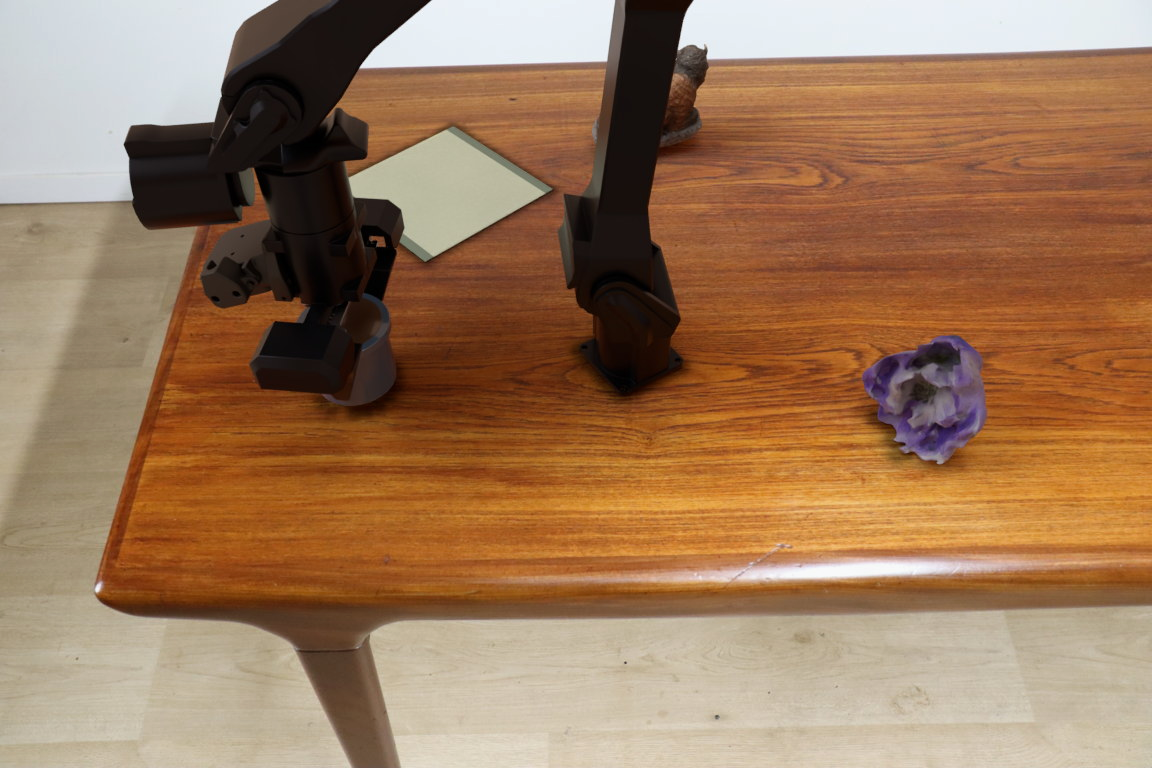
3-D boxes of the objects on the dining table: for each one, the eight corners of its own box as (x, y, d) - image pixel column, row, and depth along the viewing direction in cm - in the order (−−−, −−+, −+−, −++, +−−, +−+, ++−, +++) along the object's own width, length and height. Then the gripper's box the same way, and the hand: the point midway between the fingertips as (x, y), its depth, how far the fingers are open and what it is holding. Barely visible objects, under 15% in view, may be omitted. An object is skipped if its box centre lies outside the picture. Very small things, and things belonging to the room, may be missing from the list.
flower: (938, 290, 74) (926, 321, 66) (1022, 366, 73) (1020, 407, 65) (854, 368, 79) (832, 407, 70) (932, 441, 78) (919, 488, 69)
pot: (417, 385, 76) (406, 330, 71) (333, 423, 73) (316, 369, 69) (378, 333, 80) (365, 278, 75) (298, 367, 77) (279, 313, 73)
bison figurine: (602, 170, 97) (603, 81, 90) (582, 134, 102) (582, 45, 94) (711, 150, 99) (721, 61, 92) (687, 115, 104) (695, 28, 96)
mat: (552, 189, 95) (552, 189, 95) (425, 262, 88) (425, 261, 88) (453, 126, 103) (453, 126, 103) (328, 188, 96) (328, 187, 96)
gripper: (245, 127, 71) (294, 283, 83) (140, 293, 59) (215, 450, 70) (390, 134, 70) (418, 291, 82) (314, 305, 58) (361, 462, 69)
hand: (354, 367), depth 76 cm, fingers closed on pot, 6 cm apart
